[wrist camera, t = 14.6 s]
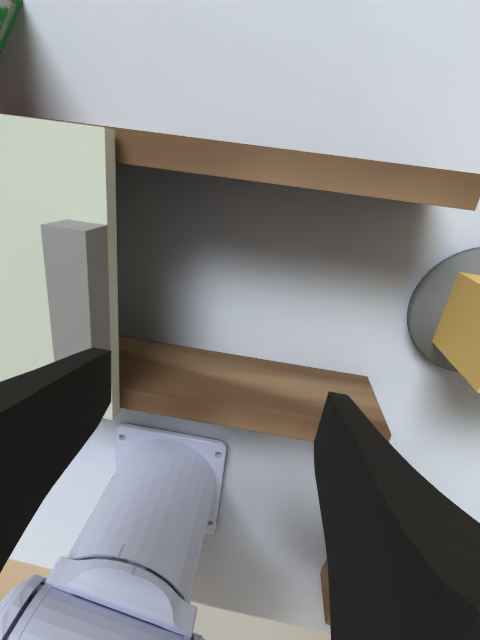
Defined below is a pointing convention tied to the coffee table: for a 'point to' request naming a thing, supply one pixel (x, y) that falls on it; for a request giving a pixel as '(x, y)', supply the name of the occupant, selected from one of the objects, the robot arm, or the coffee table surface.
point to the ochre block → (462, 328)
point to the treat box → (245, 372)
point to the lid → (57, 245)
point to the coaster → (437, 302)
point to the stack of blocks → (7, 18)
